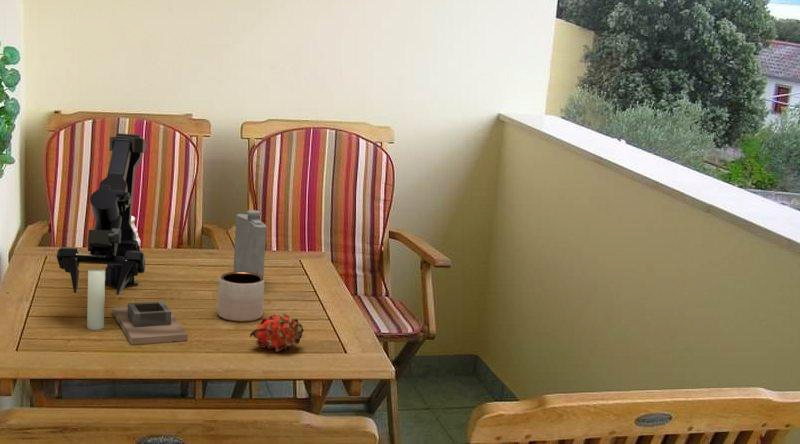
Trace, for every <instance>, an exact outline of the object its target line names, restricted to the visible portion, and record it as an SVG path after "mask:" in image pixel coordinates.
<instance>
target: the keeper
mask: <svg viewBox="0 0 800 444" xmlns="http://www.w3.org/2000/svg"><path fill="white" fill-rule="evenodd" d="M112 315H113V316H114V318H115V320H116V322H117V323H118V324H119V327H120V328H121V330H122V331H123V334H124V335H125V336H126V338H127V340H128V341H129V343H130V344H131V345H132V346H137V345H148V344H151V345H152V344H161V343H173V342H172V341H177V342H185V341H186V340H187V341H188V332H187V331H186V330H185V329H184V328H183V326H182V325H181V323H179V321H178V319H176V317H175V316H174V315H173V313H172V311H171V309H170V308H169V307H168V305H167V304H166V303H165V301H145V302H143V301H142V302H131V303H130V302H129V303H127V306H112ZM182 340H183V341H182ZM184 340H185V341H184ZM187 341H186V342H187Z"/></svg>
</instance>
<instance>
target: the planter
mask: <svg viewBox="0 0 800 444" xmlns="http://www.w3.org/2000/svg"><path fill="white" fill-rule="evenodd" d="M265 279H266V278H265V277H263V276H261V275H259V274H256V273H251V272H233V271H230V272H224V273H222V274H220V275H219V279H218V280H219V281H218V294H217V297H218V298H217V311H216V313H217V315H218V316H219V317H220V318H221V319H223V320H225V321H230V322H234V323H235V322H236V323H237V322H238V323H247V322H248V323H250V322H254V321H257V320H259V319H261V317H263V314H264V301H265V300H264V298H265V296H264V295H265Z"/></svg>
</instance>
